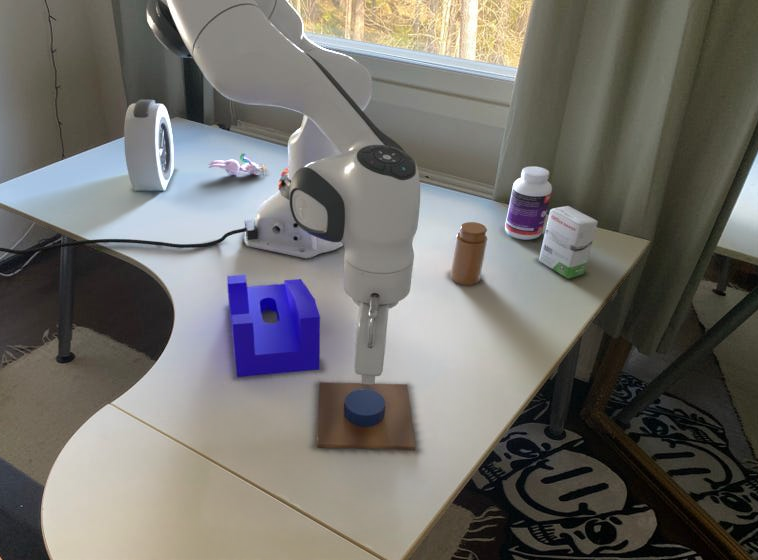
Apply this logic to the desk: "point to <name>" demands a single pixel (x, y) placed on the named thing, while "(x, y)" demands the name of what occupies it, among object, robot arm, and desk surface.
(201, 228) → the desk surface
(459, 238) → the jar
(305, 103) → the robot arm
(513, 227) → the pill bottle
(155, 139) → the alarm clock
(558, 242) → the ink box
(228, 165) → the rabbit figure
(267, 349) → the bracket
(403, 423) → the coaster
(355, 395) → the lid
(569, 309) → the desk surface
